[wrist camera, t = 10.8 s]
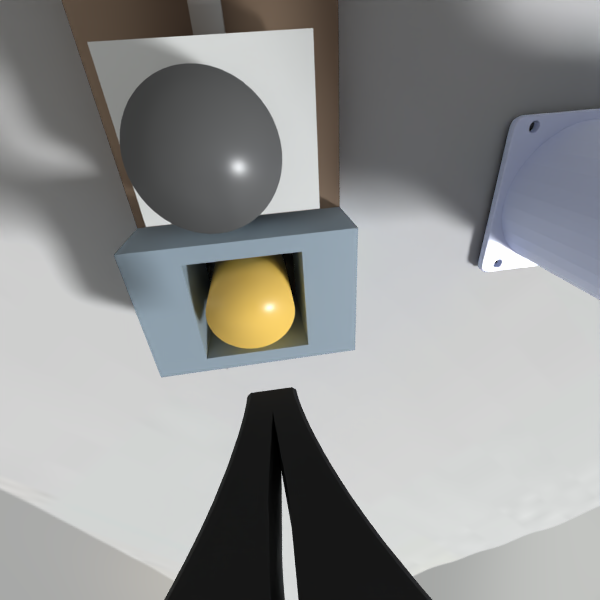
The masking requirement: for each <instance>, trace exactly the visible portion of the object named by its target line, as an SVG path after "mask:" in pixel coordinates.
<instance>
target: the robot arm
mask: <svg viewBox="0 0 600 600" xmlns="http://www.w3.org/2000/svg"><path fill="white" fill-rule="evenodd" d="M532 122H534V126H533V128H532V130H531V131H529V127H530V125H531V123H532ZM497 260H498V261H497ZM495 261H497V263H496V264H494V263H495ZM532 266H540V267H542V268H544V269H545V270H547V271H549V272H551V273H553V274H554V275H556V276H558V277H560V278H562V279H563V280H565V281H567V282H569V283H570V284H572V285H574V286H576V287H578V288H579V289H581V290H583V291H585V292H586V293H588V294H590V295H592V296H594V297H595V298H597V299H599V300H600V108H598V109H587V110H575V111H564V112H552V113H541V114H530V115H521V116H518V117H517V118H515V119H514V120H513V122H512V123H511V125H510V128H509V132H508V136H507V141H506V145H505V149H504V154H503V158H502V162H501V166H500V171H499V175H498V179H497V184H496V188H495V192H494V197H493V201H492V205H491V209H490V214H489V218H488V222H487V227H486V231H485V235H484V240H483V244H482V248H481V252H480V257H479V261H478V267H479V269H481V270H482V271H484V272H492V271H500V270H508V269H516V268H524V267H532ZM281 471H282V476H283V482H284V487H285V493H286V498H287V504H288V509H289V515H290V521H291V526H292V535H293V545H294V556H295V566H296V577H297V588H298V598H299V600H432V599H431V598H430V597H429V596H428V594H427V593H426V592H425V591H424V590H423V589H422V587H421V586H420V585H419V584H418V583H417V581H416V580H415V579H414V578H413V576H412V575H411V574H410V573H409V572H408V570H407V569H406V568H405V567H404V565H403V564H402V563H401V562H400V560H399V559H398V558H397V557H396V556H395V554H394V553H393V552H392V551H391V549H390V548H389V547H388V546H387V545H386V543H385V542H384V541H383V539H382V538H381V537H380V535H379V534H378V533H377V531H376V530H375V529H374V527H373V526H372V525H371V523H370V522H369V521H368V519H367V518H366V517H365V515H364V514H363V512H362V511H361V509H360V508H359V507H358V505H357V504H356V502H355V501H354V500H353V498H352V497H351V495H350V494H349V492H348V491H347V489H346V488H345V486H344V485H343V483H342V481H341V480H340V478H339V477H338V475H337V473H336V472H335V470H334V469H333V467H332V465H331V464H330V462H329V460H328V459H327V457H326V455H325V453H324V452H323V450H322V448H321V446H320V444H319V442H318V441H317V439H316V437H315V435H314V433H313V431H312V429H311V427H310V425H309V423H308V421H307V419H306V416H305V414H304V412H303V409H302V407H301V404H300V402H299V399H298V396H297V392H296V389H294V388H292V387H291V388H284V389H277V390H269V391H262V392H255V393H251V394H250V395H249V396H248V397H247V404H246V408H245V413H244V417H243V421H242V424H241V428H240V431H239V435H238V438H237V441H236V444H235V447H234V449H233V452H232V455H231V458H230V461H229V464H228V467H227V469H226V472H225V474H224V477H223V479H222V482H221V484H220V487H219V489H218V491H217V494H216V496H215V499H214V501H213V504H212V506H211V508H210V510H209V513H208V515H207V517H206V519H205V521H204V523H203V526H202V528H201V530H200V532H199V534H198V536H197V538H196V540H195V542H194V544H193V546H192V548H191V550H190V552H189V554H188V556H187V558H186V560H185V562H184V564H183V566H182V568H181V570H180V571H179V573H178V575H177V577H176V579H175V581H174V583H173V585H172V587H171V588H170V590H169V592H168V594H167V596H166V598H165V600H285V597H284V585H283V568H282V484H281Z"/></svg>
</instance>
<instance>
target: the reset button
mask: <svg viewBox="0 0 600 600" xmlns="http://www.w3.org/2000/svg"><path fill="white" fill-rule="evenodd" d="M294 316H295V306H294V301H293V297H292V292H291V288H290V284H289V279H288V275H287V270H286V266H285V262H284V259H283V257H282V255H281V254H277V255H268V256H259V257H251V258H242V259H234V260H225V261H216V262H215V265H214V270H213V275H212V280H211V284H210V289H209V294H208V299H207V304H206V320H207V322H208V325H209V327H210V329H211V330H212V332H213V333H214V334H215V335H216V336H217V337H218V338H219V339H221V340H222V341H224V342H225V343H227V344H230V345H232V346H235V347H239V348H247V349H252V348H260V347H264V346H268V345H270V344H272V343H274V342H276V341H278V340H279V339H280V338H282V337H283V336H284V335H285V334H286V333H287V332H288V330H289V329H290V327H291V325H292V323H293V320H294Z"/></svg>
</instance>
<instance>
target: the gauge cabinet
mask: <svg viewBox="0 0 600 600" xmlns="http://www.w3.org/2000/svg"><path fill="white" fill-rule="evenodd" d="M357 246H358V227H357V226H356V225H355V224H354V223H353V222H352V221H351V219H350V218H349V217H348V216H347V215H346V214H345V213H344V211H343V210H342V209H341V208H340V207H333V208H324V209H314V210H305V211H295V212H286V213H276V214H267V215H259V216H258V217H257V218H256V219H254V220H253V221H252V222H250V223H249V224H247V225H245V226H243V227H241V228H239V229H236V230H233V231H230V232H225V233H219V234H205V233H197V232H192V231H189V230H186V229H183V228H180V227H178V226H176V225H174V224H173V225H163V226H154V227H144V228H137V229H136V231H135V232H134V233H133V234H132V235H131V236H130V237H129V238H128V240H127V241H126V242H125V243H124V244H123V245H122V246H121V248H120V249H119V250H118V251H117V252H116V253H115V254H114V257H115V260H116V262H117V265H118V267H119V270H120V272H121V275H122V278H123V280H124V283H125V285H126V288H127V290H128V293H129V296H130V298H131V301H132V303H133V306H134V308H135V311H136V314H137V316H138V319H139V321H140V324H141V326H142V329H143V332H144V334H145V337H146V339H147V342H148V345H149V347H150V350H151V352H152V355H153V357H154V360H155V363H156V365H157V368H158V370H159V373H160V375H161V377H167V376H174V375H181V374H188V373H195V372H202V371H209V370H216V369H223V368H230V367H238V366H245V365H252V364H259V363H266V362H273V361H280V360H287V359H294V358H301V357H308V356H315V355H322V354H329V353H336V352H343V351H350V350H355V328H356V287H357ZM285 253H293V263H294V275H295V287H296V296H292V297H293V301H294V306H295V316H294V320H293V323H292V325H291V327H290V329H289V330H288V332H287V333H286V334H285V335H284V336H283V337H282V338H280V339H279V340H278V341H276V342H274V343H272V344H270V345H268V346H264V347H260V348H252V349H247V348H239V347H235V346H232V345H230V344H227V343H225V342H224V341H222V340H221V339H219V338H218V337H217V336H216V335H215V334H214V333H213V332H212V330H211V329H210V327H209V325H208V322H207V320H206V304H207V299H208V294H209V289H210V281H209V277H208V272H207V268H206V264H205V263H208V262H216V261H225V260H234V259H242V258H251V257H259V256H268V255H277V254H285Z"/></svg>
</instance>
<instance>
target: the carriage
mask: <svg viewBox="0 0 600 600" xmlns="http://www.w3.org/2000/svg"><path fill="white" fill-rule="evenodd" d="M87 43H88V46H89V50H90V53H91V56H92V59H93V62H94V65H95V68H96V72H97V75H98V78H99V81H100V84H101V87H102V90H103V94H104V97H105V100H106V103H107V106H108V109H109V112H110V116H111V119H112V122H113V125H114V128H115V131H116V134H117V137H118V141H119V144H120V150H121V156H122V160H123V164H124V167H125V170H126V172H127V175H128V177H129V179H130V181H131V183H132V185H133V188H134V191H135V194H136V197H137V200H138V203H139V207H140V210H141V213H142V216H143V219H144V222H145V225H146V227H149V226H159V225H168V224H174V225H176V226H178V227H180V228H183V229H186V230H189V231H192V232H197V233H205V234H219V233H225V232H230V231H233V230H236V229H239V228H241V227H243V226H245V225H247V224H249V223H250V222H252V221H253V220H254V219H256V218H257V217H258V216H259V215H263V214H272V213H282V212H291V211H301V210H310V209H319V208H320V203H319V175H318V148H317V120H316V93H315V65H314V38H313V28H306V29H290V30H274V31H258V32H241V33H225V34H209V35H193V36H177V37H160V38H144V39H128V40H112V41H95V42H87Z"/></svg>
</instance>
